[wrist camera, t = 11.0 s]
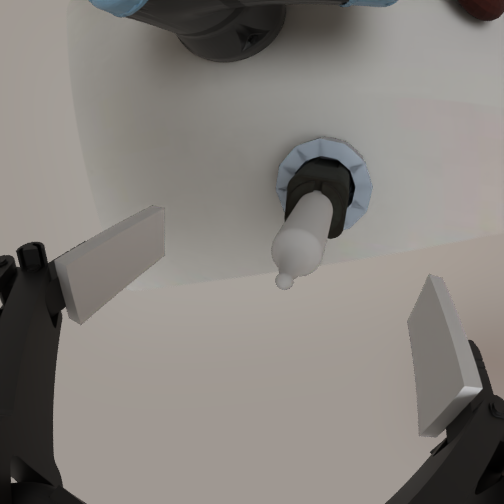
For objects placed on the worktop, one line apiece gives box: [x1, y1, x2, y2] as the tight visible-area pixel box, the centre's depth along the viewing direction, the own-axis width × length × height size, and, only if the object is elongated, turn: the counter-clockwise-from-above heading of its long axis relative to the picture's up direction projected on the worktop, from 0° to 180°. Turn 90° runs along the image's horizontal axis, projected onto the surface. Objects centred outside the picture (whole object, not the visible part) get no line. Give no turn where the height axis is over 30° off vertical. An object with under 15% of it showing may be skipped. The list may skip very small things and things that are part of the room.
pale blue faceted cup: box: [276, 137, 373, 230], centre depth 33 cm, size 10×10×8 cm
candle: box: [271, 157, 350, 290], centre depth 24 cm, size 5×5×25 cm
